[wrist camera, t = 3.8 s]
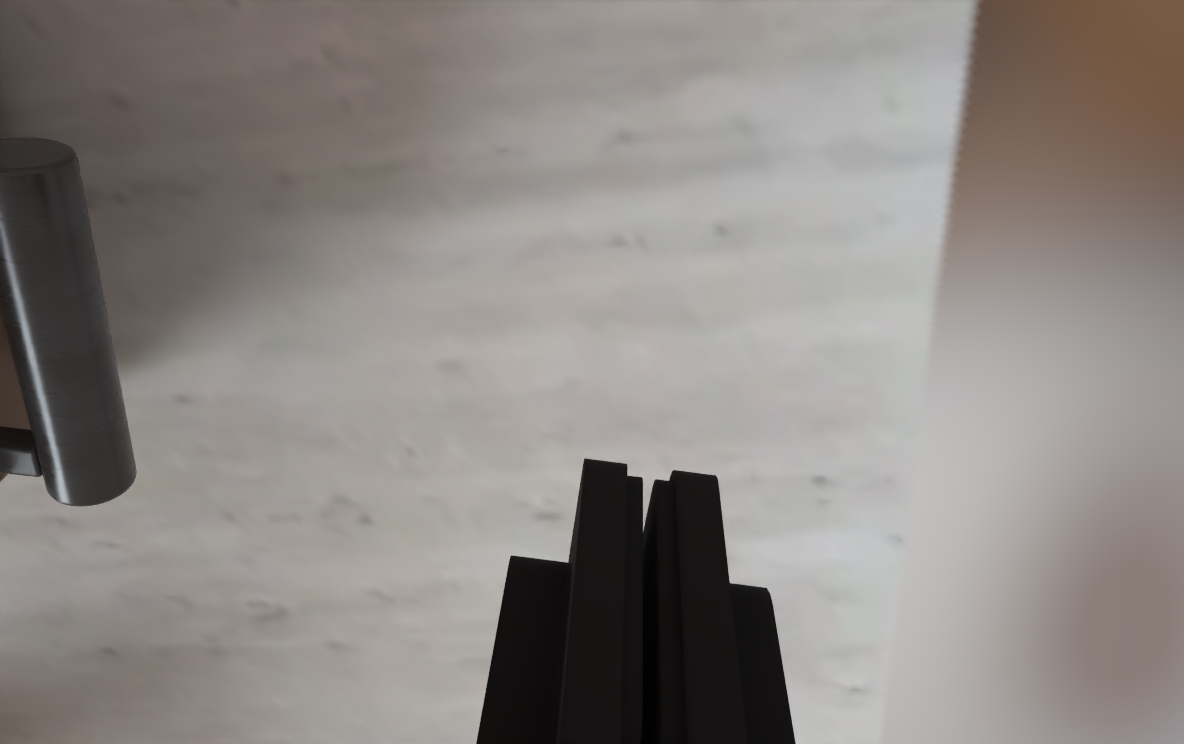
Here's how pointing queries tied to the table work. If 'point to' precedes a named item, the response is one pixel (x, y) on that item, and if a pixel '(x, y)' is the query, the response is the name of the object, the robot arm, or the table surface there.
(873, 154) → the table surface
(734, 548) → the table surface
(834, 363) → the table surface
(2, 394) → the drawer
